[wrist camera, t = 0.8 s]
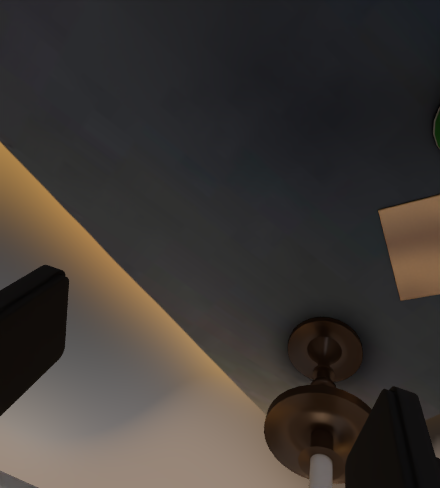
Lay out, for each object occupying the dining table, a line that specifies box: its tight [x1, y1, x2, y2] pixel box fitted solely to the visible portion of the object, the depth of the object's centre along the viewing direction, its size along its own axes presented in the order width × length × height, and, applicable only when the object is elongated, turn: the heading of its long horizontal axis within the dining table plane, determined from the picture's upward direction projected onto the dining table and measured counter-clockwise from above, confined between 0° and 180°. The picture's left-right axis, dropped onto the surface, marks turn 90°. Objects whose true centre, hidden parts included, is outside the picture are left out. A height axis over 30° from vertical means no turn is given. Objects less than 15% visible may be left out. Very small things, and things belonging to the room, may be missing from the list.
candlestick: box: [264, 317, 372, 488], centre depth 33 cm, size 11×11×35 cm
